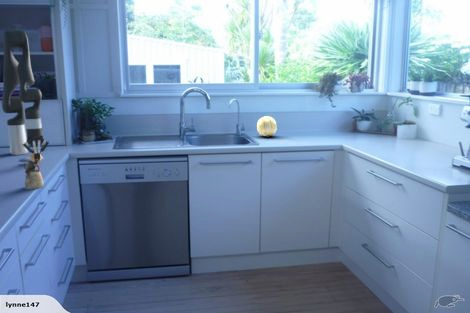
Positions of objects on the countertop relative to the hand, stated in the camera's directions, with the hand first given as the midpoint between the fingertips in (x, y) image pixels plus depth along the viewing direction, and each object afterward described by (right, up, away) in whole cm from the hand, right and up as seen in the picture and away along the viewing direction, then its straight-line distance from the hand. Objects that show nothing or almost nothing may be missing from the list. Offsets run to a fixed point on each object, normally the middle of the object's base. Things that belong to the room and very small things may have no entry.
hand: (37, 160), depth 223 cm
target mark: (-8, 0, +11) cm, 14 cm away
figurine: (+19, -11, -44) cm, 49 cm away
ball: (-2, +1, +3) cm, 4 cm away
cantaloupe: (+127, +16, +86) cm, 154 cm away
